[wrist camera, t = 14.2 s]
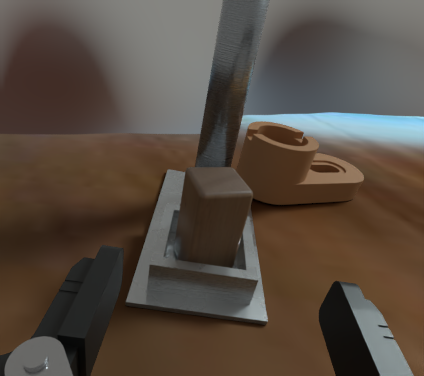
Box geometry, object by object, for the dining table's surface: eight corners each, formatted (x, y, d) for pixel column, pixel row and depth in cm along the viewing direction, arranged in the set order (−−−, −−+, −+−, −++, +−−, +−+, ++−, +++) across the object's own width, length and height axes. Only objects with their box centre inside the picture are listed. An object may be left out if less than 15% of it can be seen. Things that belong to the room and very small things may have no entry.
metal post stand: (246, 185, 40) (325, -107, 26) (266, 325, 22) (540, -334, 8) (167, 172, 39) (204, -136, 25) (125, 305, 22) (169, -447, 8)
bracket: (253, 206, 35) (271, 150, 31) (224, 169, 41) (236, 119, 38) (367, 199, 42) (392, 153, 39) (328, 169, 49) (346, 127, 45)
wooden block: (172, 247, 27) (184, 165, 23) (215, 242, 28) (233, 165, 24) (184, 283, 24) (201, 195, 20) (232, 275, 25) (256, 192, 21)
